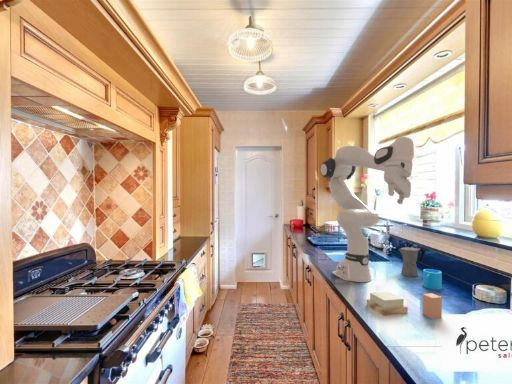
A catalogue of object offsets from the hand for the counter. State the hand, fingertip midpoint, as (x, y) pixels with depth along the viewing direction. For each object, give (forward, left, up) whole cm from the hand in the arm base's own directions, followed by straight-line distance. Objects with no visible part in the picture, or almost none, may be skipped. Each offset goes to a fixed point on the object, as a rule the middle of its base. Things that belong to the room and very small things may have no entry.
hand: (395, 199), depth 127 cm
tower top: (+2, -7, -43) cm, 43 cm away
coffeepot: (-31, +48, -45) cm, 73 cm away
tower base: (+2, -7, -46) cm, 46 cm away
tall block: (+14, +4, -45) cm, 48 cm away
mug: (-10, +36, -45) cm, 59 cm away
